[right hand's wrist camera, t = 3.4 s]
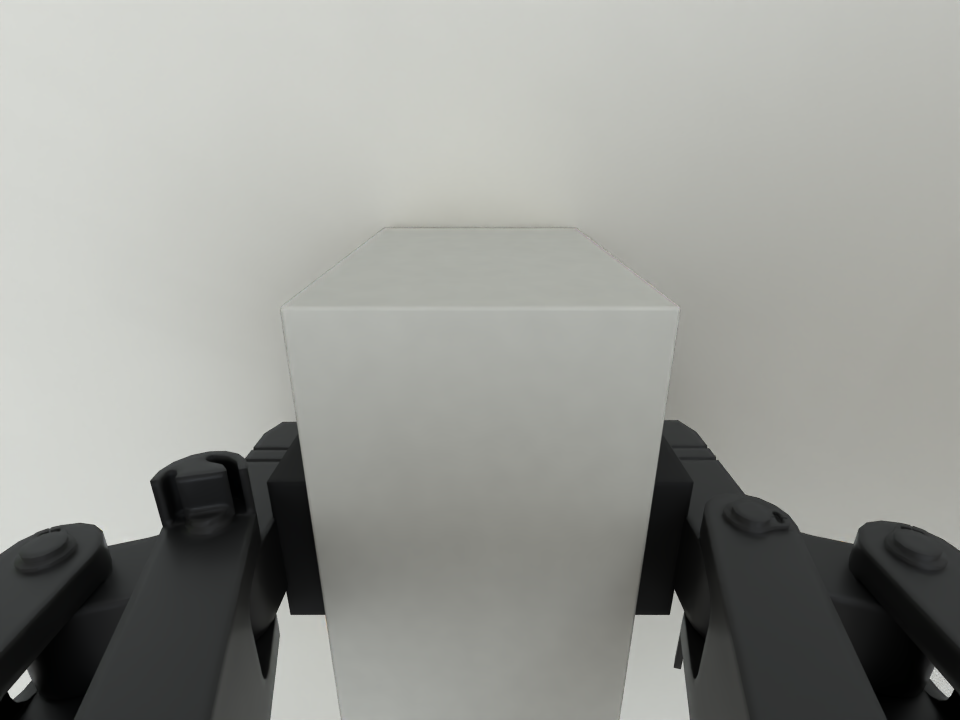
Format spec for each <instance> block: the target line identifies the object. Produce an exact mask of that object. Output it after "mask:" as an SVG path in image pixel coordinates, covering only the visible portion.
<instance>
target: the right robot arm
mask: <svg viewBox="0 0 960 720" xmlns="http://www.w3.org/2000/svg"><path fill="white" fill-rule="evenodd" d="M150 483H151V486H152V490H153V493H154V497H155V501H156V504H157V508H158V511H159V515H160V518H161V522H162V525H163V528H162V530H161V532H160V534H159V535H157V536H153V537H149V538H145V539H140V540H135V541H130V542H125V543H120V544H116V545H111V546H107V543H106V540H105V537H104V534H103V531H102V530H100V529H99V528H98V527H97V526H95V525H92V524H85V523H75V524H67V525H60V526H55V527H51V528H50V529H49V528H48V529H45V530H42V531H39V532H37V533H35V534H34V535H32V536H30V537H27V538H25V539H23V540H21V541H19V542H17V543H16V544H14V545H13V546H12V547H10V548H9V549H7V550H6V551H4V552H3V553H1V554H0V720H270V716H271V708H272V699H273V690H274V682H275V673H276V664H277V655H278V647H279V638H280V633H279V626H278V620H277V615H276V613H277V610H278V608H279V606H280V604H281V601H282V599H283V597H284V595H285V592H287V597H288V603H289V608H290V614H291V615H325V608H324V602H323V595H322V588H321V581H320V575H319V568H318V561H317V554H316V548H315V541H314V534H313V527H312V521H311V514H310V507H309V501H308V494H307V487H306V480H305V474H304V467H303V460H302V453H301V447H300V440H299V433H298V426H297V422H282V423H280V424H279V425H277V426H276V427H274V428H273V429H271V430H269V431H268V432H266V433H265V434H264V435H263V436H262V437H261V439H260V440H259V441H258V443H257V444H256V445H255V446H254V450H251V452H250V453H249V454H248V455H247V457H246V458H243V457H242V456H241V455H239V454H237V453H232V452H228V451H210V452H205V453H200V454H195V455H191V456H188V457H186V458H183V459H180V460H178V461H175V462H173V463H171V464H170V465H168V466H166V467H165V468H163V469H162V470H160V471H159V472H158V473H157V474H156V475H155V476H154V477H153V478H152V479H151V481H150ZM674 589H675V591H676V594H677V596H678V598H679V600H680V603H681V605H682V607H683V609H684V615H683V620H682V625H681V630H680V635H679V641H678V646H677V651H676V656H675V663H674V668H678V669H681V666H682V661H683V663H684V672H685V680H686V689H687V698H688V706H689V715H690V720H960V551H959V550H958V549H956V548H955V547H953V546H952V545H950V544H949V543H948V542H946V541H945V540H943V539H941V538H939V537H937V536H935V535H933V534H930V533H928V532H927V531H925V530H923V529H920V528H917V527H914V526H913V527H912V526H910V525H907V524H903V523H897V522H888V521H875V522H867V523H866V524H864V525H863V526H862V527H860V528H859V530H858V533H857V536H856V539H855V542H854V544H851V543H846V542H841V541H836V540H832V539H827V538H822V537H817V536H812V535H808V534H805V533H801V532H800V531H799V529H798V527H797V525H796V524H795V523H794V521H793V520H792V519H791V517H790V516H789V515H788V514H786V513H785V512H784V511H782V510H781V509H780V508H778V507H777V506H775V505H773V504H771V503H769V502H766V501H764V500H762V499H760V498H757V497H752V496H748V495H745V494H744V493H743V491H742V490H741V489H740V487H739V486H738V485H737V484H736V482H735V481H734V480H733V478H732V477H731V476H730V475H729V473H728V472H727V471H726V470H725V468H724V467H723V466H722V464H721V463H720V462H719V461H718V460H716V457H715V455H714V454H713V453H712V452H711V450H710V449H709V448H707V445H706V444H705V443H704V441H703V440H702V439H701V437H700V436H699V435H698V434H697V432H695V431H694V430H692V429H691V428H689V427H688V426H686V425H684V424H683V423H681V422H680V421H678V420H664V423H663V430H662V437H661V443H660V450H659V457H658V463H657V470H656V477H655V484H654V490H653V497H652V504H651V510H650V517H649V524H648V531H647V537H646V544H645V551H644V557H643V564H642V571H641V578H640V584H639V591H638V598H637V604H636V611H635V615H670V610H671V605H672V599H673V594H674ZM934 667H936V668H937V670H938V671H939V672H940V673H941V674H942V675H943V676H944V678H945V679H946V680H947V681H948V682H949V683H950V684H951V686H952V687H953V688H954V691H953V693H952V695H951V696H950V697H949V698H948V697H946V696H945V695H944V694H943V693H942V692H941V691H940V690H939V689H938V688H937V687H936V685H935V684H934V683H933V682H932V681H931V680H930V676H931V674H932V672H933V669H934ZM26 669H27V670H28V673H29V675H30V677H31V679H32V681H31V682H30V683H29V684H28V686H27V687H26V688H25V689H24V690H23V691H22V692H21V693H20V694H19V695H18V696H17V697H15V698H14V699H12V698H10V696H9V694H8V692H7V691H8V690H9V689H10V688H11V687H12V686H13V684H14V683H15V682H16V681H17V680H18V679H19V677H20V676H21V675H22V674H23V673H24V672H25V671H26Z"/></svg>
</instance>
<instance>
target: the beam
mask: <svg viewBox="0 0 960 720" xmlns="http://www.w3.org/2000/svg"><path fill="white" fill-rule="evenodd" d="M280 312H281V319H282V325H283V332H284V339H285V346H286V352H287V359H288V366H289V373H290V379H291V386H292V393H293V399H294V406H295V413H296V420H297V426H298V433H299V440H300V447H301V453H302V460H303V467H304V474H305V480H306V487H307V494H308V501H309V507H310V514H311V521H312V527H313V534H314V541H315V548H316V554H317V561H318V568H319V575H320V581H321V588H322V595H323V602H324V608H325V615H326V622H327V628H328V635H329V642H330V649H331V655H332V662H333V669H334V676H335V682H336V689H337V696H338V703H339V709H340V716H341V720H619V719H620V712H621V705H622V699H623V692H624V685H625V678H626V672H627V665H628V658H629V652H630V645H631V638H632V631H633V625H634V618H635V611H636V604H637V598H638V591H639V584H640V578H641V571H642V564H643V557H644V551H645V544H646V537H647V531H648V524H649V517H650V510H651V504H652V497H653V490H654V484H655V477H656V470H657V463H658V457H659V450H660V443H661V437H662V430H663V423H664V416H665V410H666V403H667V396H668V389H669V383H670V376H671V369H672V363H673V356H674V349H675V342H676V336H677V329H678V322H679V316H680V307H679V306H678V305H677V304H675V303H674V302H673V301H671V300H670V299H669V298H668V297H666V296H665V295H664V294H662V293H661V292H660V291H658V290H657V289H656V288H654V287H653V286H652V285H650V284H649V283H648V282H647V281H645V280H644V279H643V278H641V277H640V276H639V275H637V274H636V273H635V272H633V271H632V270H631V269H629V268H628V267H627V266H626V265H624V264H623V263H622V262H620V261H619V260H618V259H616V258H615V257H614V256H612V255H611V254H610V253H608V252H607V251H606V250H605V249H603V248H602V247H601V246H599V245H598V244H597V243H595V242H594V241H593V240H591V239H590V238H589V237H587V236H586V235H585V234H584V233H582V232H581V231H580V230H578V229H577V228H383V229H382V230H381V231H379V232H378V233H377V234H375V235H374V236H373V237H372V238H370V239H369V240H368V241H366V242H365V243H364V244H362V245H361V246H360V247H358V248H357V249H356V250H354V251H353V252H352V253H351V254H349V255H348V256H347V257H345V258H344V259H343V260H341V261H340V262H339V263H337V264H336V265H335V266H334V267H332V268H331V269H330V270H328V271H327V272H326V273H324V274H323V275H322V276H320V277H319V278H318V279H317V280H315V281H314V282H313V283H311V284H310V285H309V286H307V287H306V288H305V289H303V290H302V291H301V292H300V293H298V294H297V295H296V296H294V297H293V298H292V299H290V300H289V301H288V302H286V303H285V304H284V305H283V306H281V309H280Z"/></svg>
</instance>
